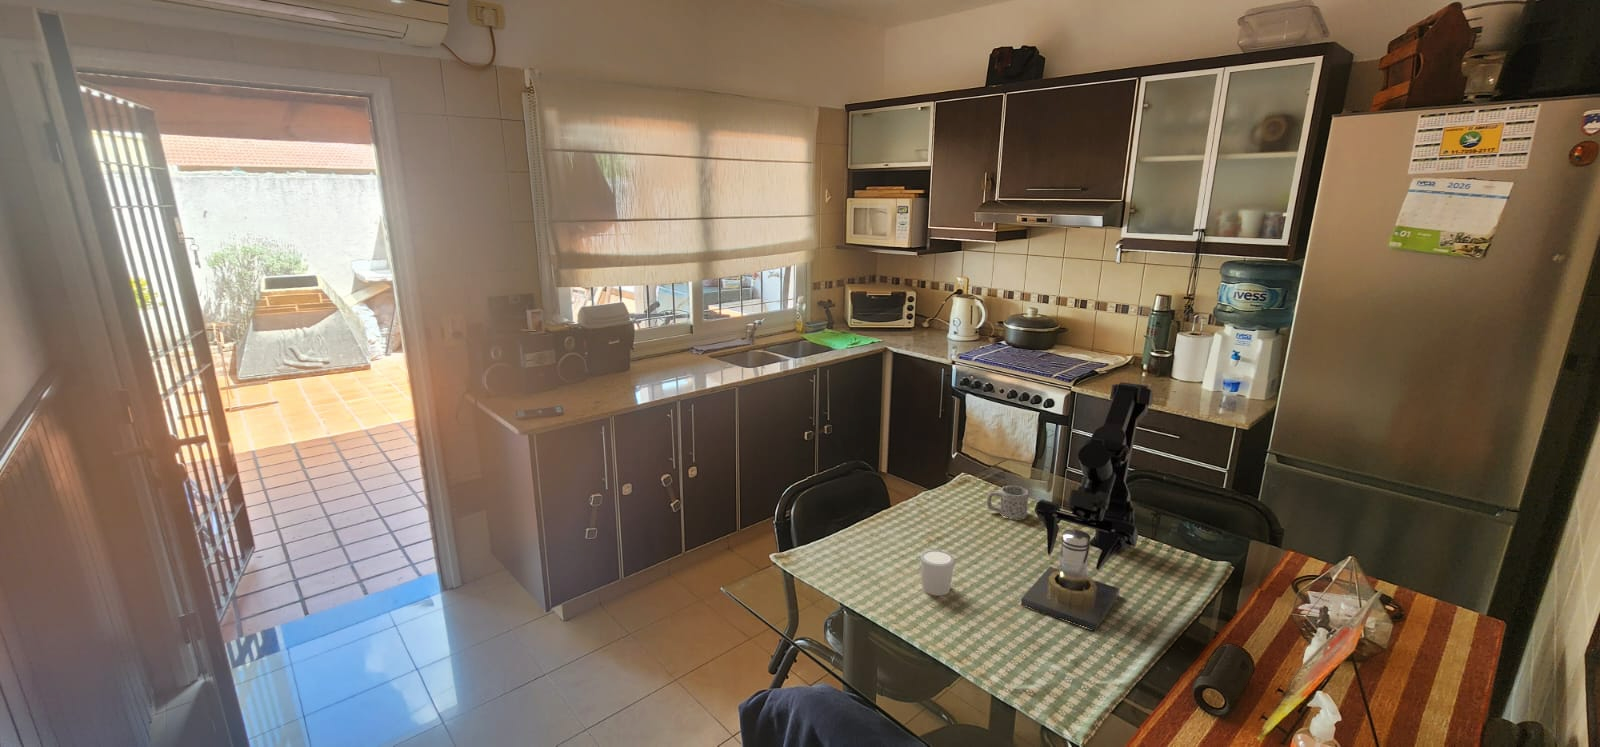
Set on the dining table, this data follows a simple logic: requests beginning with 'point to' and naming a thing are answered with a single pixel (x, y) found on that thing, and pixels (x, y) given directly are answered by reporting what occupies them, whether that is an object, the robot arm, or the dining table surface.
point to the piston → (1074, 560)
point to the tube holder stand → (1071, 600)
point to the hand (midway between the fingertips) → (1072, 561)
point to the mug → (1010, 502)
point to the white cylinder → (936, 571)
